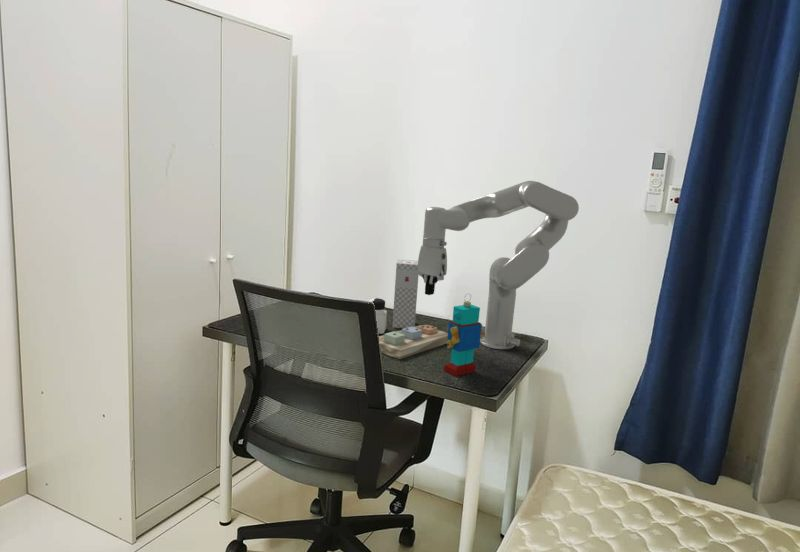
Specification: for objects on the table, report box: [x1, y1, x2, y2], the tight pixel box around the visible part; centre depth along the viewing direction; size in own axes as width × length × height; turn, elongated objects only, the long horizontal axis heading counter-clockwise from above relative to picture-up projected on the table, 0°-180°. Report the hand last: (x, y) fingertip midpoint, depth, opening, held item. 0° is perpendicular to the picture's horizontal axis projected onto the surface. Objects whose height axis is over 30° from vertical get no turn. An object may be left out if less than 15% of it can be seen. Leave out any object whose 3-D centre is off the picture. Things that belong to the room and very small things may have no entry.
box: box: [392, 259, 419, 329], centre depth 217 cm, size 8×8×25 cm
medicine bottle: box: [368, 297, 388, 335], centre depth 209 cm, size 7×7×12 cm
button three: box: [418, 324, 438, 335], centre depth 203 cm, size 5×5×3 cm
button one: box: [383, 330, 405, 346], centre depth 189 cm, size 5×5×3 cm
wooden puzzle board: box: [378, 324, 448, 360], centre depth 196 cm, size 14×28×3 cm, turn 139°
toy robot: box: [443, 293, 484, 377], centre depth 173 cm, size 12×6×25 cm, turn 127°
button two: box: [401, 327, 422, 340], centre depth 196 cm, size 5×5×3 cm
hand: (429, 294), depth 200 cm, fingers closed
